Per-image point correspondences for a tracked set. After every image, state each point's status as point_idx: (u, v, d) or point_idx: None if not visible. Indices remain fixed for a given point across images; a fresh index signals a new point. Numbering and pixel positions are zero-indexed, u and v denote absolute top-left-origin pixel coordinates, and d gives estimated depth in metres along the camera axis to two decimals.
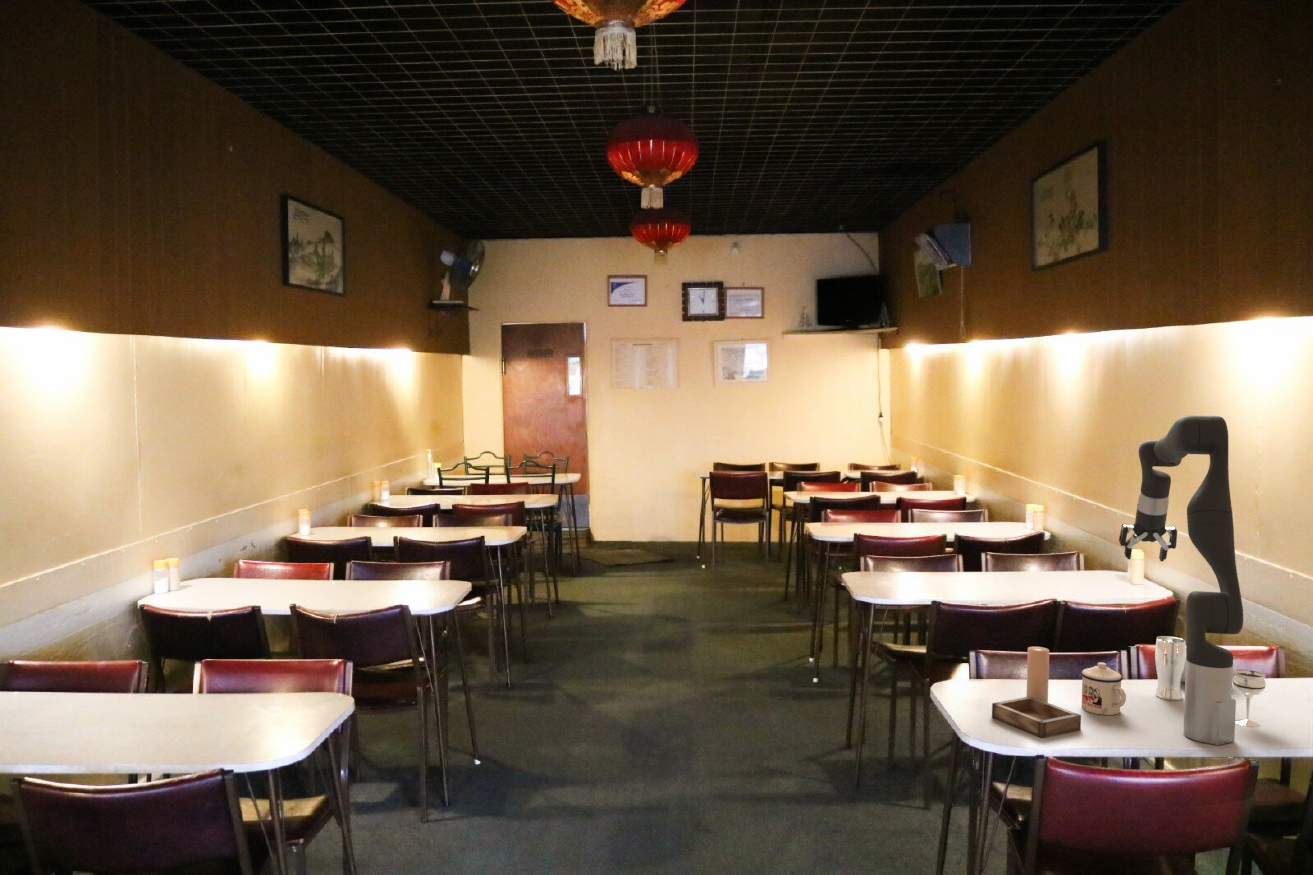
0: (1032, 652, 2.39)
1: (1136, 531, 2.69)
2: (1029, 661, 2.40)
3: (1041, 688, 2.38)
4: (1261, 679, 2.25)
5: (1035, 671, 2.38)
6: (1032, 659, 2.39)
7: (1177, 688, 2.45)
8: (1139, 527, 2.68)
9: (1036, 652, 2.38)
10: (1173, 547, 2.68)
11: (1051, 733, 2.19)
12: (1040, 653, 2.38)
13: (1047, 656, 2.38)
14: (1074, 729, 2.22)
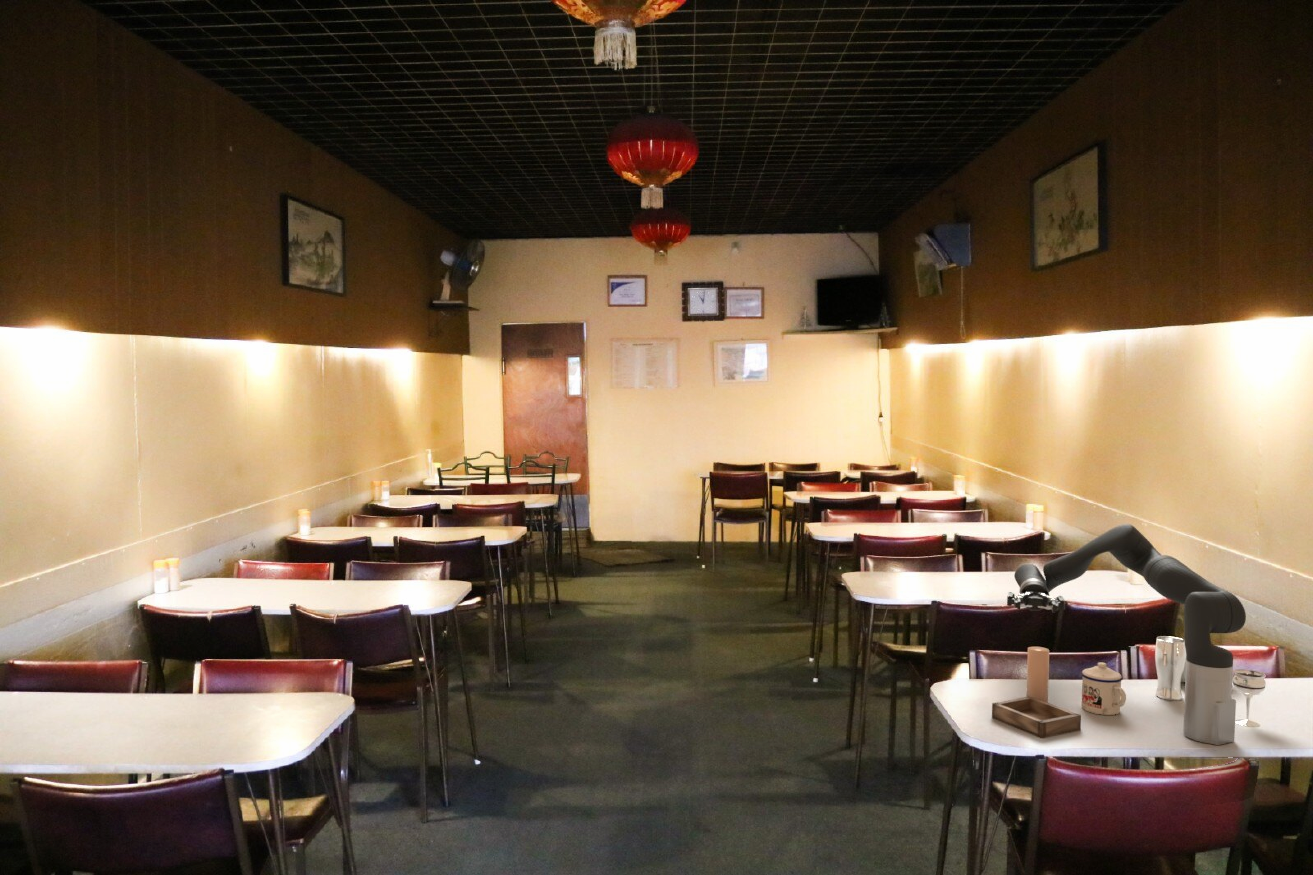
0: (1032, 652, 2.39)
1: None
2: (1029, 661, 2.40)
3: (1041, 688, 2.38)
4: (1261, 679, 2.25)
5: (1035, 671, 2.38)
6: (1032, 659, 2.39)
7: (1177, 688, 2.45)
8: (1023, 593, 2.61)
9: (1036, 652, 2.38)
10: (1062, 600, 2.53)
11: (1051, 733, 2.19)
12: (1040, 653, 2.38)
13: (1047, 656, 2.38)
14: (1074, 729, 2.22)
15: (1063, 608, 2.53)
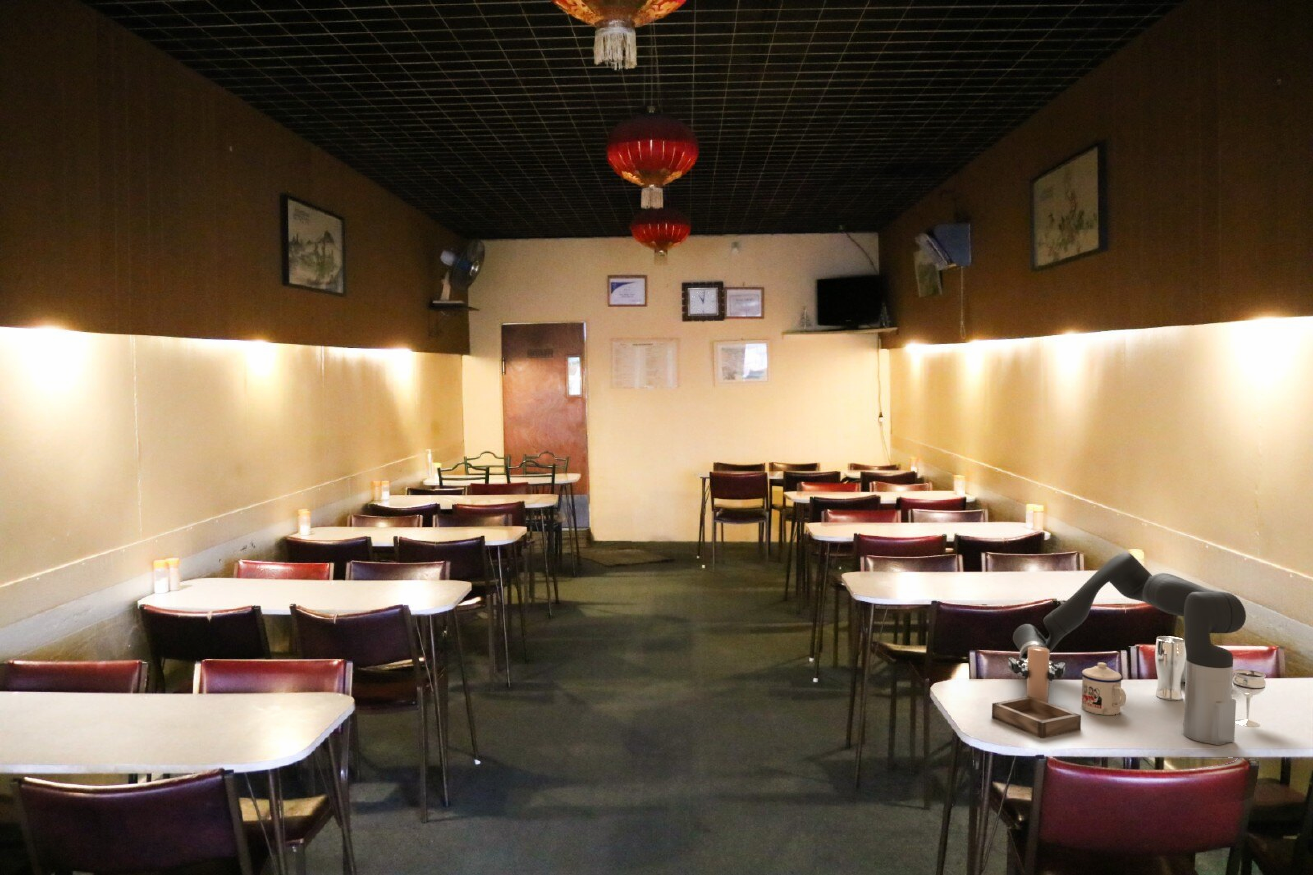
0: (1032, 652, 2.39)
1: (1023, 659, 2.48)
2: (1029, 661, 2.40)
3: (1041, 688, 2.38)
4: (1261, 679, 2.25)
5: (1036, 671, 2.38)
6: (1033, 659, 2.39)
7: (1177, 688, 2.45)
8: (1023, 658, 2.50)
9: (1036, 652, 2.38)
10: (1059, 667, 2.41)
11: (1051, 733, 2.19)
12: (1040, 653, 2.38)
13: (1047, 656, 2.38)
14: (1074, 729, 2.22)
15: (1059, 676, 2.41)
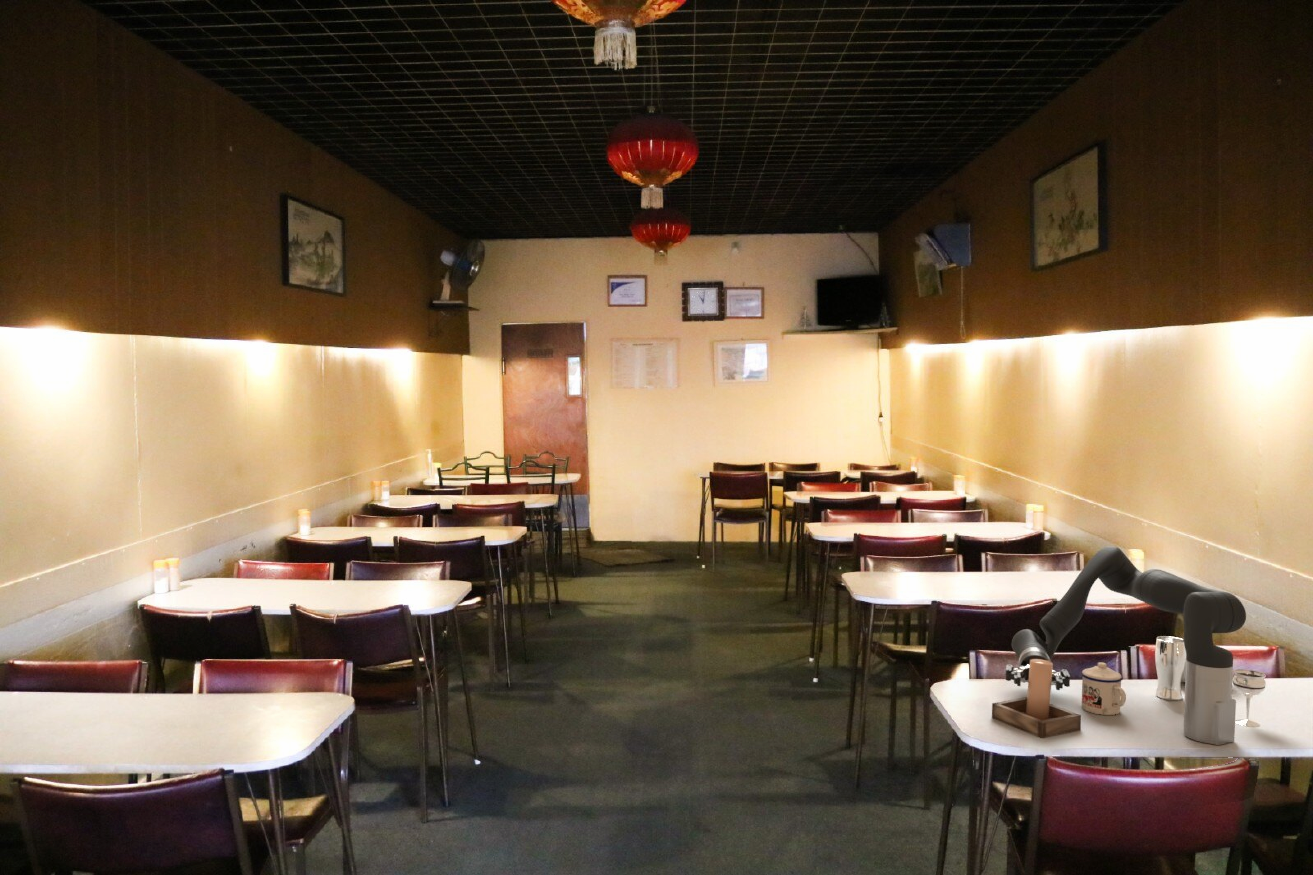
0: (1034, 665, 2.25)
1: (1021, 667, 2.35)
2: (1031, 674, 2.26)
3: (1042, 704, 2.24)
4: (1261, 679, 2.25)
5: (1037, 685, 2.24)
6: (1034, 672, 2.25)
7: (1177, 688, 2.45)
8: (1024, 666, 2.36)
9: (1039, 665, 2.24)
10: (1067, 675, 2.27)
11: (1051, 733, 2.19)
12: (1043, 667, 2.24)
13: (1050, 670, 2.24)
14: (1074, 729, 2.22)
15: (1068, 684, 2.27)
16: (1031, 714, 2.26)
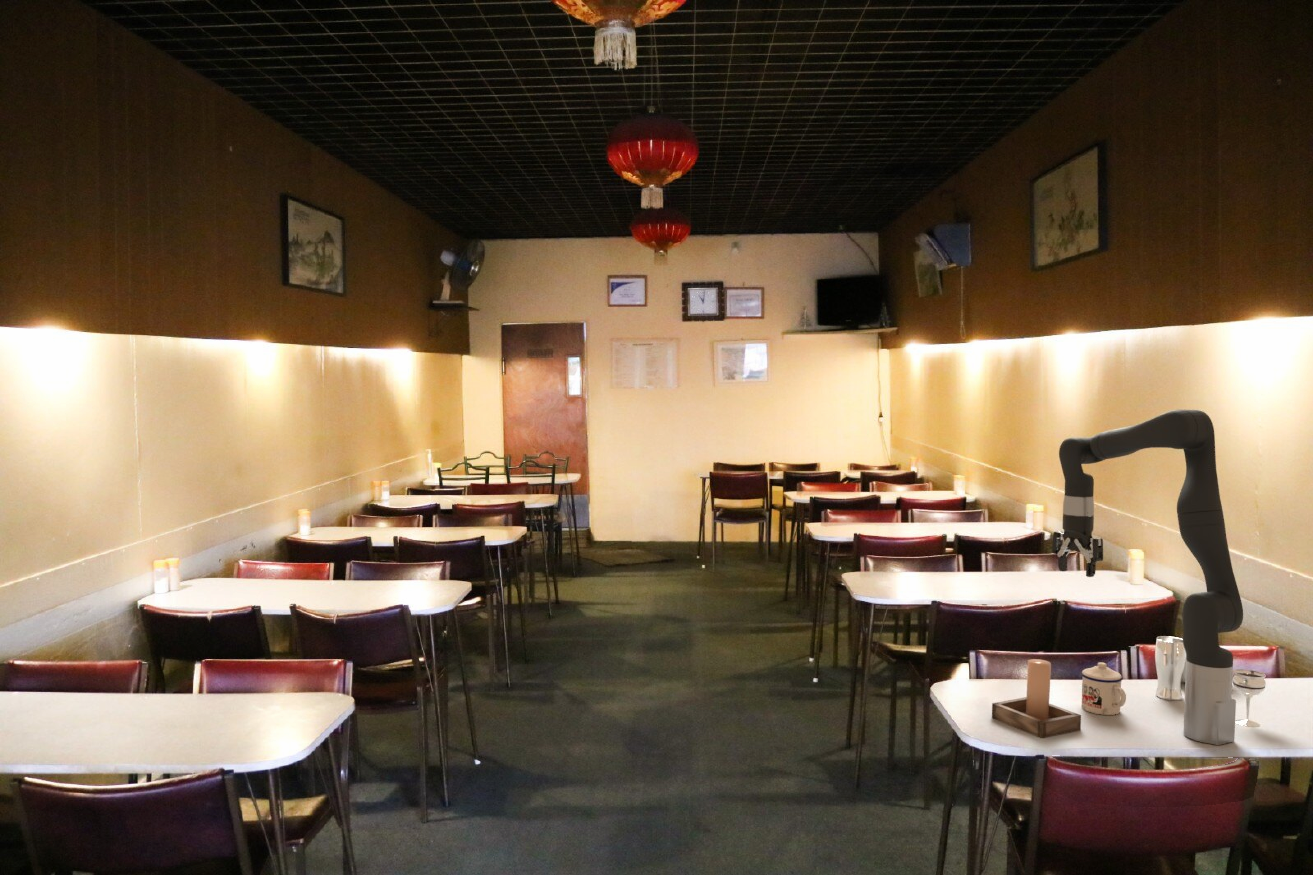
0: (1032, 665, 2.25)
1: (1063, 537, 2.57)
2: (1029, 675, 2.26)
3: (1041, 704, 2.24)
4: (1261, 679, 2.25)
5: (1035, 685, 2.25)
6: (1032, 673, 2.25)
7: (1177, 688, 2.45)
8: (1065, 533, 2.57)
9: (1036, 665, 2.24)
10: (1094, 559, 2.48)
11: (1051, 733, 2.19)
12: (1041, 667, 2.24)
13: (1048, 670, 2.24)
14: (1074, 729, 2.22)
15: (1100, 560, 2.49)
16: (1030, 714, 2.26)
